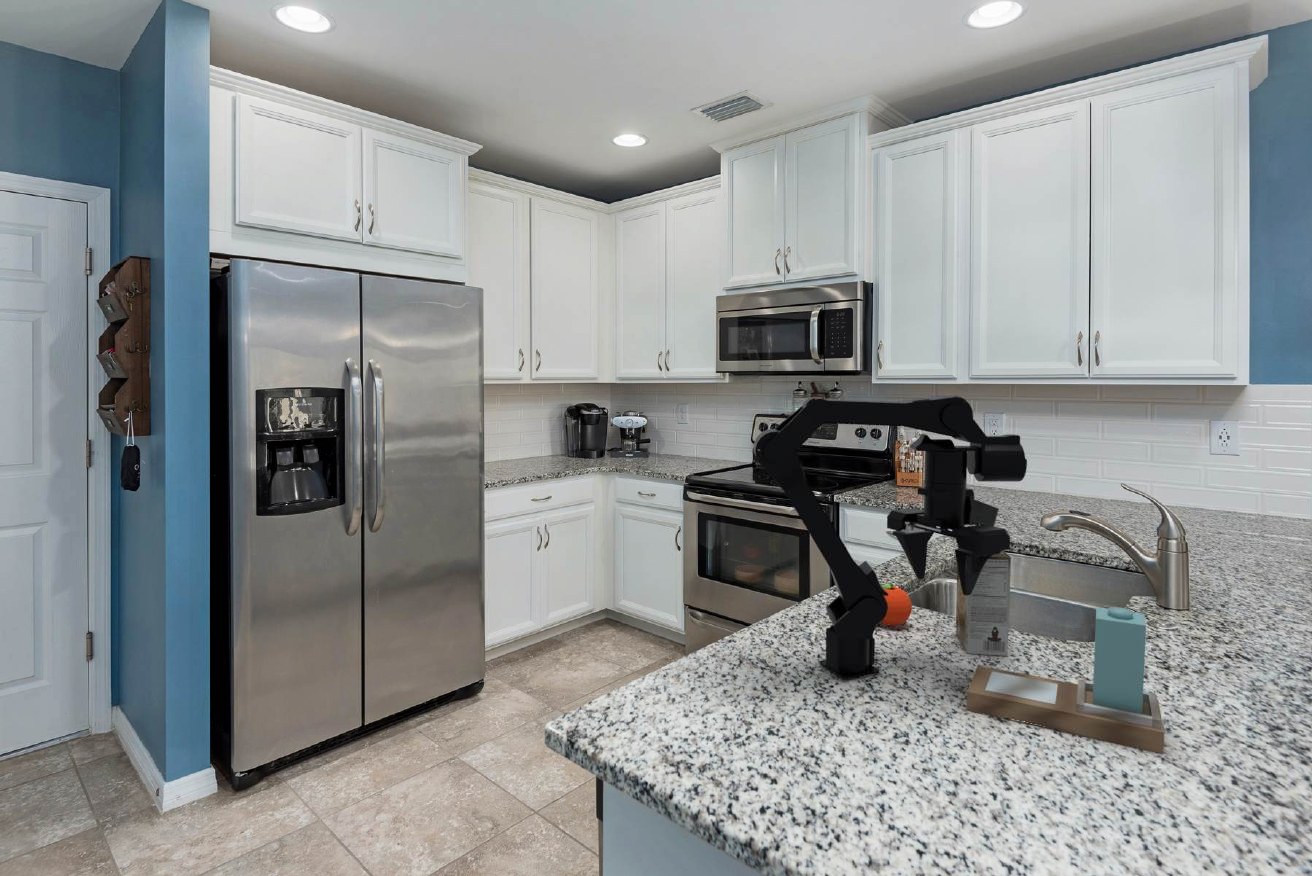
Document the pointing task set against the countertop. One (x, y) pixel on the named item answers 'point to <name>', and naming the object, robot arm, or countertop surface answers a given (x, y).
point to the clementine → (896, 606)
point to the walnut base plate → (1064, 708)
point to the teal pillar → (1119, 659)
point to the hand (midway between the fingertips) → (943, 586)
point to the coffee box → (986, 609)
